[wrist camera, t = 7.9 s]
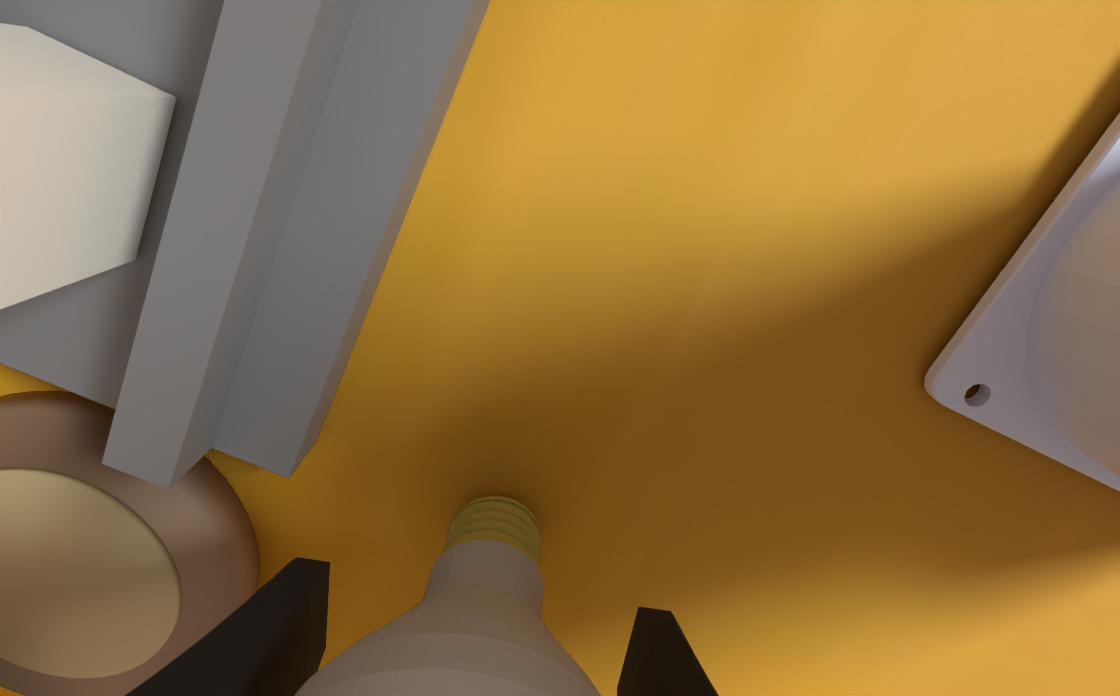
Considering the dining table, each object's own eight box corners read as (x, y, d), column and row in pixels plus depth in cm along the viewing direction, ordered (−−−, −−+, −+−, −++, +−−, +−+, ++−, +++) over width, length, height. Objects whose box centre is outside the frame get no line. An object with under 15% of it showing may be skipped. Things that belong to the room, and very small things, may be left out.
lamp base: (301, 477, 15) (276, 512, 14) (210, 708, 18) (181, 756, 16) (-59, 332, 14) (-124, 356, 13) (-99, 601, 17) (-157, 644, 15)
